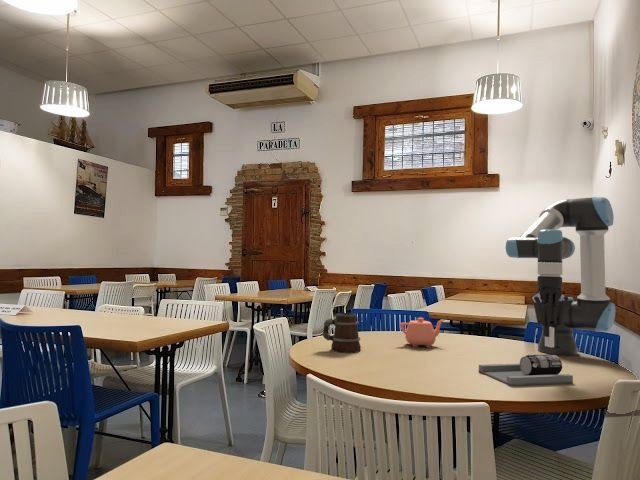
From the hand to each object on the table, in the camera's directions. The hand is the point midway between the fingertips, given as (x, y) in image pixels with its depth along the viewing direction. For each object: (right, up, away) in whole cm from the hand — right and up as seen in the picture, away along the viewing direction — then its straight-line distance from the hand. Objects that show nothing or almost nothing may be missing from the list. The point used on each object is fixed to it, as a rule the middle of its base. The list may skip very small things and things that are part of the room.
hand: (549, 346), depth 159 cm
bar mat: (-10, -10, -2) cm, 14 cm away
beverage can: (+3, -6, 0) cm, 7 cm away
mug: (-68, -10, +37) cm, 78 cm away
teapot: (-31, -11, +52) cm, 62 cm away
